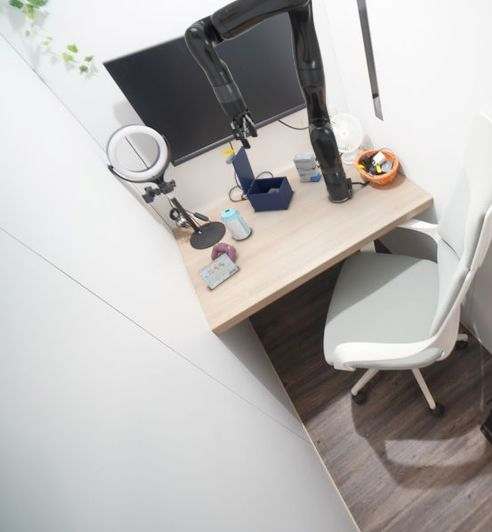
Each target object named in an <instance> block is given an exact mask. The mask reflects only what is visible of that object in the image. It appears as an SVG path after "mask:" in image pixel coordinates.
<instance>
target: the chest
mask: <svg viewBox="0 0 492 532" xmlns="http://www.w3.org/2000/svg"><path fill="white" fill-rule="evenodd" d="M271 188H274V189H279V191H278V192H273V193H268V192H269V191H270V189H271ZM293 195H294V191H293V188H292V185H291V184H290V182H289V180H288V176H287V175H286V176H274V177H263V178H255V179H254V181H253V183H252V185H251V187H250V189H249V191H248V193H247V195H245V196H246V198H247V200H248V202H249V203H250V205H251V207H252V209H253V211H254V212H255V213H260V212H272V211H284V210H288V208H289V206H290V203H291V201H292V198H293Z"/></svg>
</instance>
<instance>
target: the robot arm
mask: <svg viewBox="0 0 492 532" xmlns="http://www.w3.org/2000/svg"><path fill="white" fill-rule="evenodd" d="M285 13H287V17H288V22H289V26H290V35H291V51H292V61H293V66H294V70H295V75H296V80H297V82H298V87H299V90H300V92H301V96H302V98H303V101H304V103H305V108H306V114H307V122H308V136H309V141H310V144H311V148H312V150H313V154H314V157H315V160H316V162H317V163H318V164H317V165H318V167H319V170H320V173H321V176H322V178H323V181H324V184H325V187H326V188H325V189H326V192H327V194H328V196H329V197H328V198H329V200H330V201H331V202H332V203H338V204H339V203H343V202H346V201H348V200H350V199H352V197H351V195H352V194H351V190H353V189H354V188H353V185H361V186H363V187H365V186H367V185H368V184H369V182H370V181H367V180H366V181H365V182H364V183H363V182H361V181H353V180H352V178H351V177H348V176H347V173H346V172H345V168H344V165H343V161H342V157H341V152H340V149H339V145H338V143H337V138H336V135H335V132H334V127H333V124H332V122H331V117H330V115H329V110H328V105H327V83H326V81H327V80H326V72H325V65H324V62H323V61H324V60H323V57H322V56H323V55H322V51H321V47H320V43H319V38H318V34H317V30H316V25H315V20H314V9H313V0H233V1H232V2H229V3H228V4H225V5H224V6H222V7H221V8H219V9H217V10H215V11H214V12H213V13H212V14H209V15H207V16H205V17H203V18H200V19H198V20H196V21H195V22H193V23H192V24H190V25H189V26H188V27H187V28H186V29H185V31H184V41H185V43H186V46H187V49H188V50H189V52H190V54H191V55H192V57H193V58H194V59H195V61H196V62H197V64H198V65H199V66H200V67H201V69H202V70H203V71H204V74H205V75H206V78H207V79H208V82H209V83H210V85H211V88H212V89H213V92H214V95H215V97H216V99H217V100H218V102H219V105H220V107H221V108H222V110H223V112H224V114H225V115H226V116H229V117H230V119H231V122H228V127H229V129H230V132H231V133H232V135H233V138H234V139H235V141H240V143H241V145H242V146H244V148H245V150H250V149H251V148H252V146H251V143H250V142H249V140H248V138H247V130H248V131H249V134H250V136H251V138H258V137H259V135H258V133H257V130H256V128H255V123H256V120H255V118H254V116H253V113H252V111H251V109H250V107H249V106H248V105H247V104H246V101H245V100H244V98H243V95H242V93H241V91H240V89H239V86H238V85H237V83H236V81H235V79H234V78H233V75H232V73H231V71H230V69H229V67H228V65H227V63H226V62H225V61H224V60H223V59H221V58H220V56H219V55H218V53H217V51H216V49H215V48H216V47H217V46H219V45H221V44H223V43H224V42H226V41H233V40H234V39H236V38H238V37H240V36H242V35H243V34H245V33H247V32H249V31H251V30H252V29H254V28H255V27H257V26H259V25H260V24H262V23H264V22H266V21H268V20H270V19H271V18H274V17H277V16H279V15H282V14H285Z"/></svg>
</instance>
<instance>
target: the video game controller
mask: <svg viewBox="0 0 492 532" xmlns="http://www.w3.org/2000/svg"><path fill="white" fill-rule="evenodd" d="M224 253H226V254H227V256H228V257H229V258H230V260H231V261H232V262H233V263H234V262H235V260H236V254H237V249H236V247H235V246H234V245H231V244H228V243H226V242H217V243H215V244H214V245H213V246H212V251H211V254H210V258H211V260H212V261H214V260H215V259H217V258H218V257H219V256H221V255H223V254H224Z"/></svg>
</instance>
